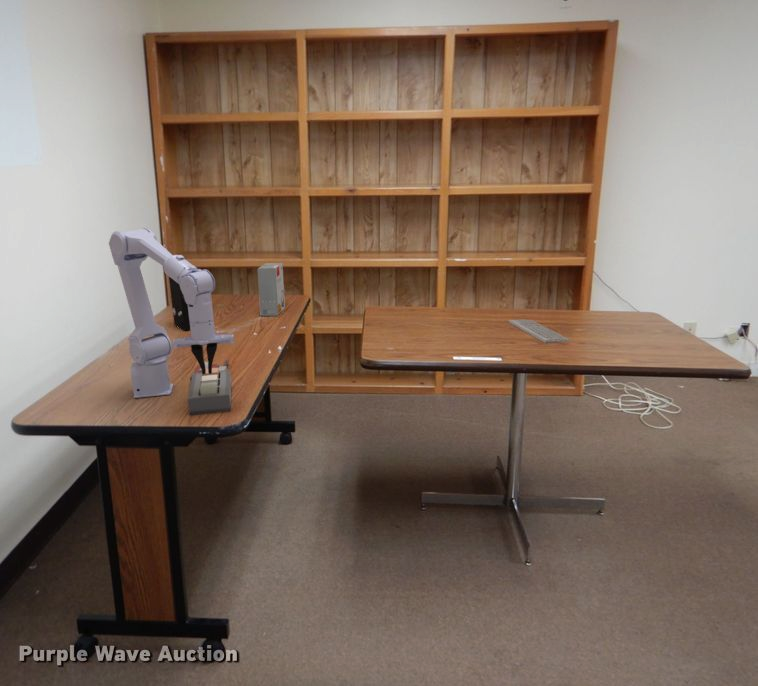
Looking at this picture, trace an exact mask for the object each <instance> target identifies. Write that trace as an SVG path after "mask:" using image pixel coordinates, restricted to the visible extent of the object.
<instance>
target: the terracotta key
mask: <svg viewBox="0 0 758 686" xmlns="http://www.w3.org/2000/svg"><path fill="white" fill-rule="evenodd" d="M202 375H203V376H208V375H218V378H219V371H218V368H212V373H211V374H209V372H208V369H206V373H205V374H202ZM218 384H219V383H218Z"/></svg>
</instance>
